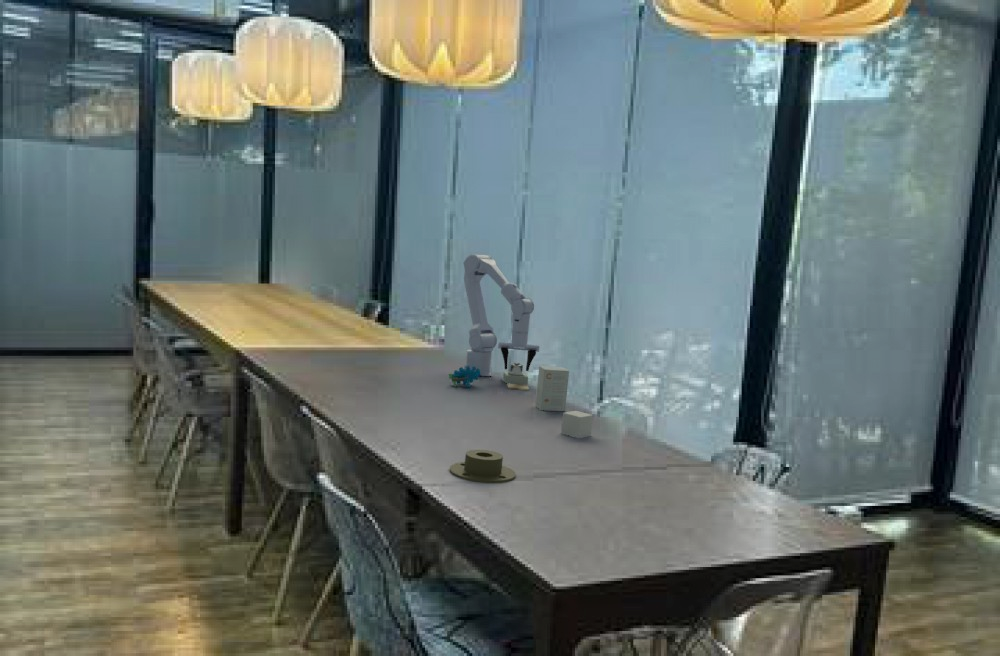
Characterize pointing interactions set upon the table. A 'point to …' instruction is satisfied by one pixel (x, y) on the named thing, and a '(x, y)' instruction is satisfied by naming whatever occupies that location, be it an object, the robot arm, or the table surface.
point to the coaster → (517, 386)
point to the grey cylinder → (516, 369)
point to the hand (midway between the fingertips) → (516, 369)
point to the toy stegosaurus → (465, 375)
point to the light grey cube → (577, 424)
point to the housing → (515, 378)
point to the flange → (483, 467)
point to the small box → (552, 388)
